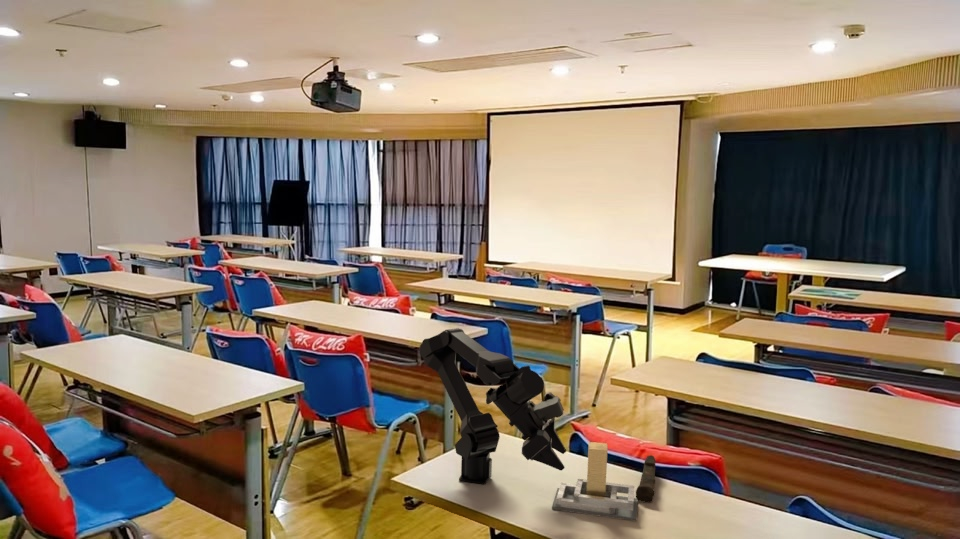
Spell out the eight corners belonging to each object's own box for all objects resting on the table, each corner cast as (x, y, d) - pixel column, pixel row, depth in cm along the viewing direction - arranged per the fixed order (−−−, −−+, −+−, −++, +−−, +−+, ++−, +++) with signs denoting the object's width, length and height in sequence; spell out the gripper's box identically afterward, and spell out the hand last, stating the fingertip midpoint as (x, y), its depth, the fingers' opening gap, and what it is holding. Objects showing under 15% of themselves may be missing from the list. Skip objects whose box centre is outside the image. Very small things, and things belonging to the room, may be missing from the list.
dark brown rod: (653, 505, 149) (654, 485, 148) (635, 501, 150) (636, 482, 149) (661, 472, 166) (663, 454, 166) (645, 469, 168) (646, 452, 167)
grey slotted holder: (555, 506, 145) (556, 493, 145) (560, 488, 154) (561, 476, 153) (632, 517, 141) (633, 503, 141) (633, 498, 150) (634, 485, 149)
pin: (586, 505, 146) (588, 448, 144) (586, 497, 150) (588, 441, 148) (604, 507, 145) (607, 450, 144) (604, 499, 149) (607, 443, 147)
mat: (551, 509, 145) (551, 506, 145) (557, 490, 154) (557, 487, 154) (636, 521, 141) (636, 518, 141) (637, 501, 150) (637, 498, 150)
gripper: (539, 398, 137) (591, 454, 137) (545, 374, 156) (591, 423, 155) (500, 432, 140) (551, 487, 139) (511, 403, 158) (556, 452, 157)
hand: (564, 460), depth 148 cm, fingers open, 9 cm apart
